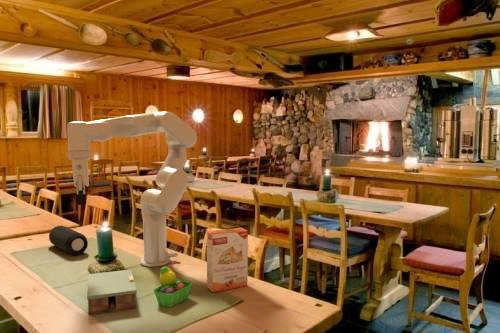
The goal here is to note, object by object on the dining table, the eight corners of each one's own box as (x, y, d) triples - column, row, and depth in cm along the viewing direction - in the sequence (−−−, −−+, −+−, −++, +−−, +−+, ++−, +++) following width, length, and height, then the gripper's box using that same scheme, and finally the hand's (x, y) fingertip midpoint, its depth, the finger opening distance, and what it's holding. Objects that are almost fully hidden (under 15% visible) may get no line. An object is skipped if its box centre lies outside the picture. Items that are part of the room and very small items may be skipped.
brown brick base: (131, 285, 153) (131, 272, 153) (136, 308, 135) (136, 293, 134) (89, 291, 148) (89, 277, 148) (88, 315, 130) (87, 299, 129)
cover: (131, 272, 153) (131, 267, 153) (136, 293, 134) (136, 288, 134) (88, 276, 148) (88, 272, 148) (87, 299, 129) (87, 294, 129)
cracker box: (212, 293, 146) (212, 234, 144) (206, 287, 152) (205, 230, 150) (248, 286, 153) (248, 230, 151) (241, 281, 158) (241, 226, 156)
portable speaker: (90, 253, 193) (89, 232, 192) (68, 258, 186) (67, 236, 185) (68, 242, 211) (67, 223, 210) (47, 246, 204) (46, 226, 203)
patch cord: (112, 286, 150) (112, 283, 150) (114, 309, 131) (114, 305, 131) (108, 287, 149) (108, 283, 149) (110, 310, 131) (109, 305, 131)
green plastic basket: (170, 310, 133) (169, 275, 132) (149, 303, 138) (149, 270, 137) (193, 297, 143) (192, 265, 142) (173, 292, 148) (173, 261, 147)
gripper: (90, 156, 149) (92, 207, 150) (90, 153, 163) (92, 200, 164) (67, 157, 146) (69, 208, 148) (69, 154, 160) (71, 201, 162)
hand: (81, 204), depth 156 cm, fingers closed
